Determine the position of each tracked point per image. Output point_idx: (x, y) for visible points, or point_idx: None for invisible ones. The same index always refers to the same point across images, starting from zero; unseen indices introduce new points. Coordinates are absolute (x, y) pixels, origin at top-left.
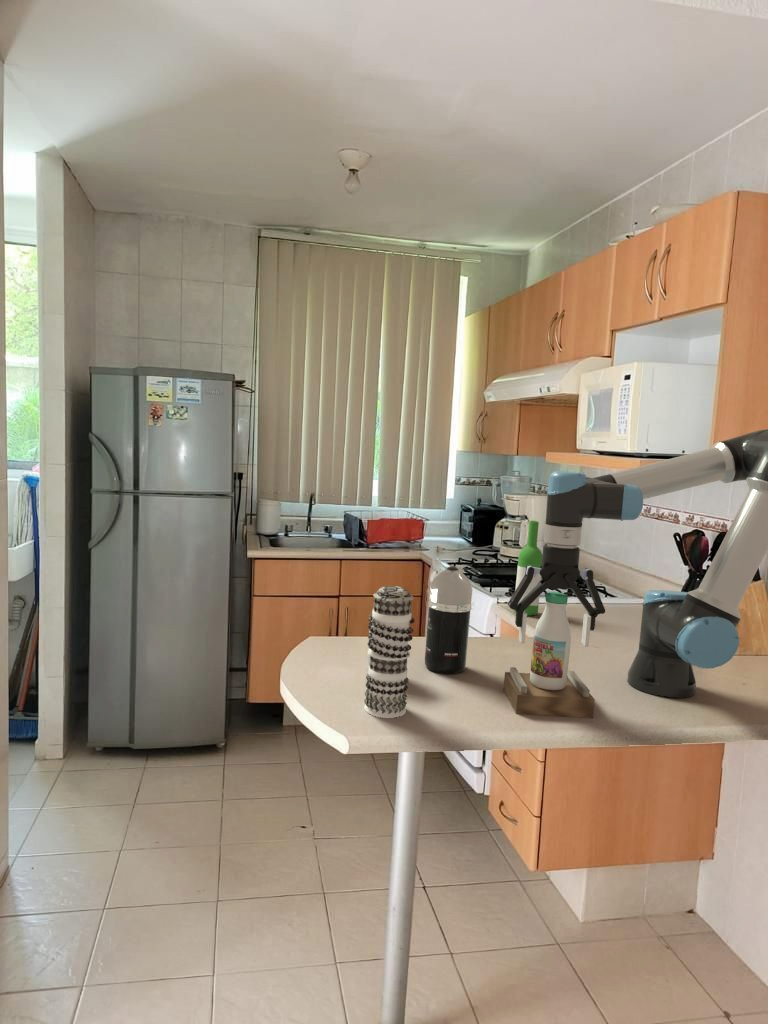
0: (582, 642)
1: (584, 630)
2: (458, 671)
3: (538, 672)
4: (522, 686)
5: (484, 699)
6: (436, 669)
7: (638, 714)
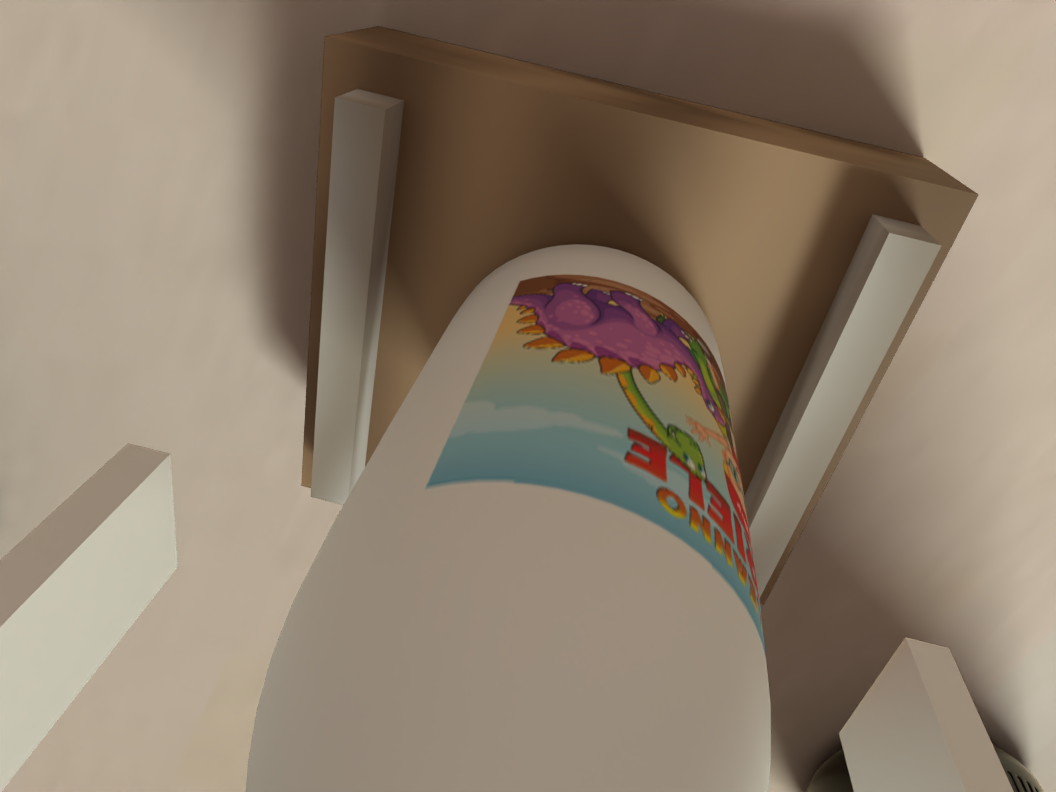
0: (165, 546)
1: (54, 648)
2: None
3: (718, 372)
4: (931, 243)
5: (983, 409)
6: (1025, 767)
7: (37, 68)
